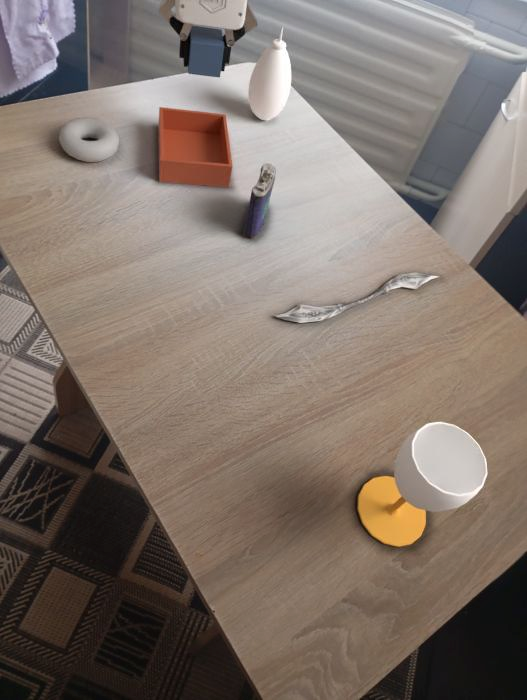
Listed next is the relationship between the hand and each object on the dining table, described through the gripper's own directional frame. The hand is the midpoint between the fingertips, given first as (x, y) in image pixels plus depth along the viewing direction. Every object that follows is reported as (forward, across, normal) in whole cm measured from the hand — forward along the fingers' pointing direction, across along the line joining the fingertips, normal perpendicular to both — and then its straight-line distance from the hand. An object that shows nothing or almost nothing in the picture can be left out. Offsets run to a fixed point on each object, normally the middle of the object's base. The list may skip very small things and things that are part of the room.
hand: (203, 63), depth 89 cm
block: (+1, 0, 0) cm, 1 cm away
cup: (+18, +22, -67) cm, 73 cm away
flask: (+18, +10, -16) cm, 26 cm away
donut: (+18, -18, 0) cm, 25 cm away
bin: (+18, 0, 0) cm, 18 cm away
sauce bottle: (+18, +15, +15) cm, 28 cm away
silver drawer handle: (+18, +26, -32) cm, 45 cm away
